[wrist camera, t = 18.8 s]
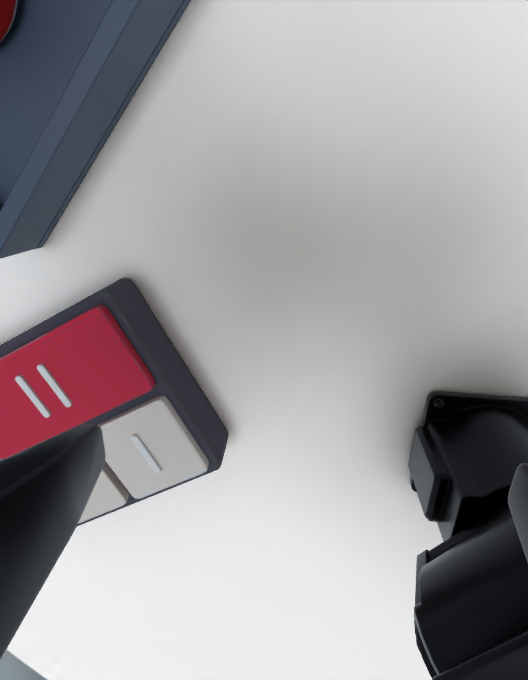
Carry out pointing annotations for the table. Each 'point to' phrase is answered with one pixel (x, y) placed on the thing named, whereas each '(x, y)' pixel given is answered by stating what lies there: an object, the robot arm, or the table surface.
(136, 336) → the calculator
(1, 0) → the beverage can
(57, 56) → the tray
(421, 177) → the table surface
